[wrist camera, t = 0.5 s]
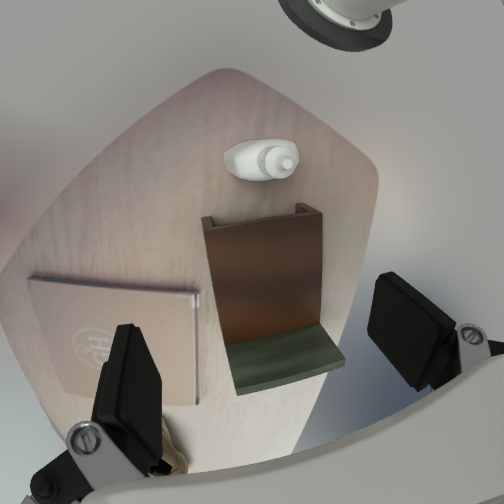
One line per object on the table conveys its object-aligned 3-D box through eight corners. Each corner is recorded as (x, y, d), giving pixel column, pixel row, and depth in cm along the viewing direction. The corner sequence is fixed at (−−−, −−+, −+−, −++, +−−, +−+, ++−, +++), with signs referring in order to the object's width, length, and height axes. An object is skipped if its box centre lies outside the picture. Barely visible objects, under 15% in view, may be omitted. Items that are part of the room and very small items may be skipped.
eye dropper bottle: (229, 130, 27) (257, 120, 16) (278, 144, 29) (331, 147, 18) (218, 169, 28) (238, 184, 17) (267, 181, 30) (314, 204, 19)
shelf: (200, 217, 30) (210, 261, 19) (303, 202, 32) (360, 234, 21) (220, 327, 36) (237, 396, 25) (304, 309, 38) (344, 366, 27)
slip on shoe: (189, 468, 51) (193, 496, 43) (146, 467, 48) (147, 496, 40) (175, 407, 40) (178, 450, 32) (114, 405, 38) (109, 446, 30)
